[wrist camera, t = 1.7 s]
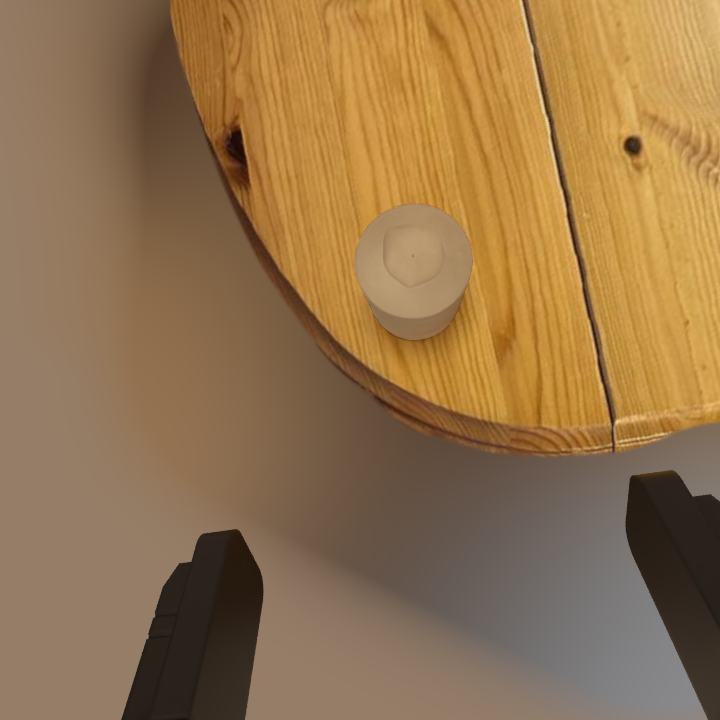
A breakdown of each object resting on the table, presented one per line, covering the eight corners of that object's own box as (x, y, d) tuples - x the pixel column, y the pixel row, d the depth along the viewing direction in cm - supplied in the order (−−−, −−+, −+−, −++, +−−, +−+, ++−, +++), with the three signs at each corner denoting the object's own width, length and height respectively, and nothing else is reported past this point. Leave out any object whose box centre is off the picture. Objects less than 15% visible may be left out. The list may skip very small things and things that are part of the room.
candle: (352, 295, 35) (326, 250, 25) (417, 235, 35) (416, 166, 25) (412, 359, 35) (409, 338, 25) (478, 298, 34) (502, 253, 25)
